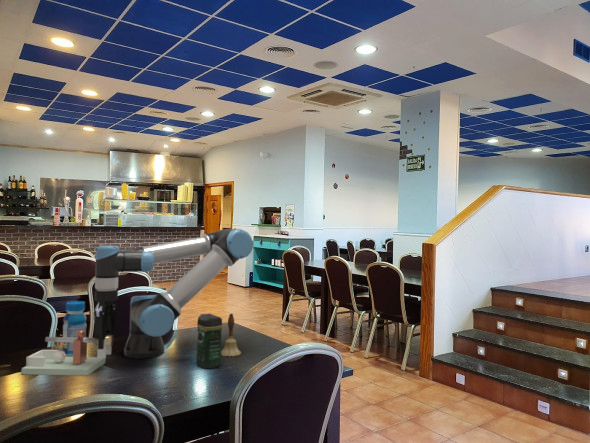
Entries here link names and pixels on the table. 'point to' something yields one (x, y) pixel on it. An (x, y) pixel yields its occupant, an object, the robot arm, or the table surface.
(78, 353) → the player rod
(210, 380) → the table surface
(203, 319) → the coffee jar
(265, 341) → the table surface
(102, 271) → the robot arm
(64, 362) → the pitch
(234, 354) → the hand bell
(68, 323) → the beverage bottle
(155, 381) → the table surface
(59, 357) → the ball
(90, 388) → the table surface
